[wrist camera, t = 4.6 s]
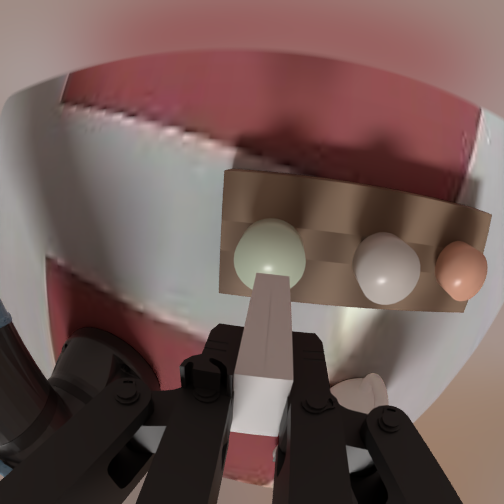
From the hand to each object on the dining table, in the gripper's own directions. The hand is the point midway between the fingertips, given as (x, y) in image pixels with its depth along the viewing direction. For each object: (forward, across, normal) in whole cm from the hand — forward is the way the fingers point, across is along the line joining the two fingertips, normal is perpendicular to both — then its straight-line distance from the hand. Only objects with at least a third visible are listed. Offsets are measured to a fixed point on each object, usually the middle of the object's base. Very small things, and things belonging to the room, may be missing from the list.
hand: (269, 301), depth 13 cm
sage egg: (+9, 0, 0) cm, 9 cm away
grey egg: (+9, +8, 0) cm, 12 cm away
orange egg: (+10, +16, 0) cm, 19 cm away
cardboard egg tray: (+12, +8, 0) cm, 14 cm away
